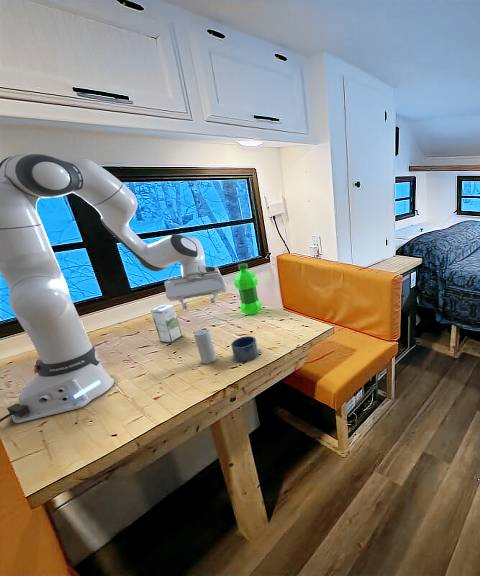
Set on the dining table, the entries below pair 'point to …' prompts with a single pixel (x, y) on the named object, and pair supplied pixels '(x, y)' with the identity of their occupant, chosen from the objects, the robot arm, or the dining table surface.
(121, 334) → the dining table surface
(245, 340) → the can holder
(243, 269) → the plastic bottle
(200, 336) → the beverage can
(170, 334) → the syrup box
